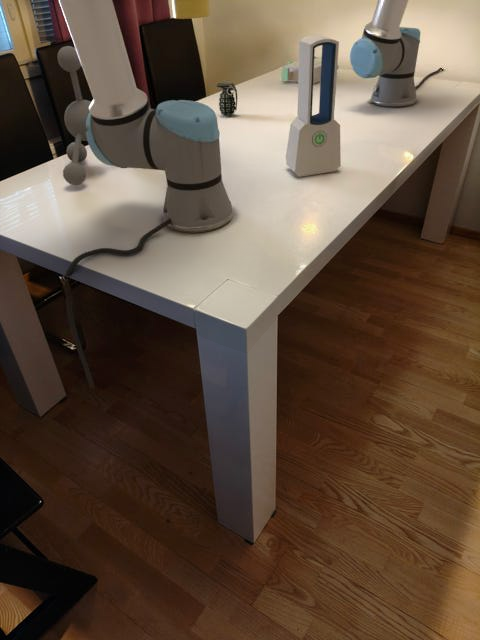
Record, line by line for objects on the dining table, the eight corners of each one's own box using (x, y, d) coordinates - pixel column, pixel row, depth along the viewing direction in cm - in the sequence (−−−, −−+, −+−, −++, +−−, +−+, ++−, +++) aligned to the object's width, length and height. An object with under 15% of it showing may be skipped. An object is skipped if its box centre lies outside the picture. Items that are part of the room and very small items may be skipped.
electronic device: (294, 177, 122) (297, 41, 104) (284, 167, 128) (285, 37, 109) (340, 170, 124) (351, 36, 106) (328, 161, 130) (337, 32, 112)
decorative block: (304, 54, 217) (345, 57, 207) (303, 70, 221) (343, 73, 211) (272, 65, 201) (315, 69, 191) (272, 82, 205) (314, 86, 195)
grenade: (217, 117, 168) (214, 86, 162) (221, 112, 172) (219, 82, 166) (235, 117, 166) (233, 86, 160) (239, 113, 171) (238, 82, 165)
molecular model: (153, 175, 128) (132, 46, 109) (67, 191, 122) (30, 58, 104) (135, 149, 145) (114, 34, 127) (59, 162, 140) (26, 43, 121)
